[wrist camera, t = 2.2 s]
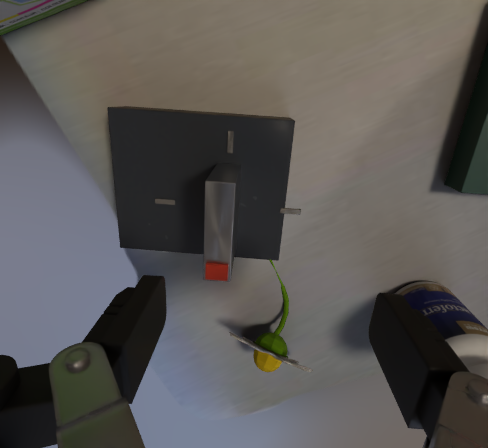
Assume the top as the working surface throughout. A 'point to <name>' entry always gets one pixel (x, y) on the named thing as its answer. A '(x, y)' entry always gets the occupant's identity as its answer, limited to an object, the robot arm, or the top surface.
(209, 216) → the gray block
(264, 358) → the decorative flower
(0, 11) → the ink box
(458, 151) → the button block
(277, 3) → the top surface
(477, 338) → the pill bottle
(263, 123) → the panel
